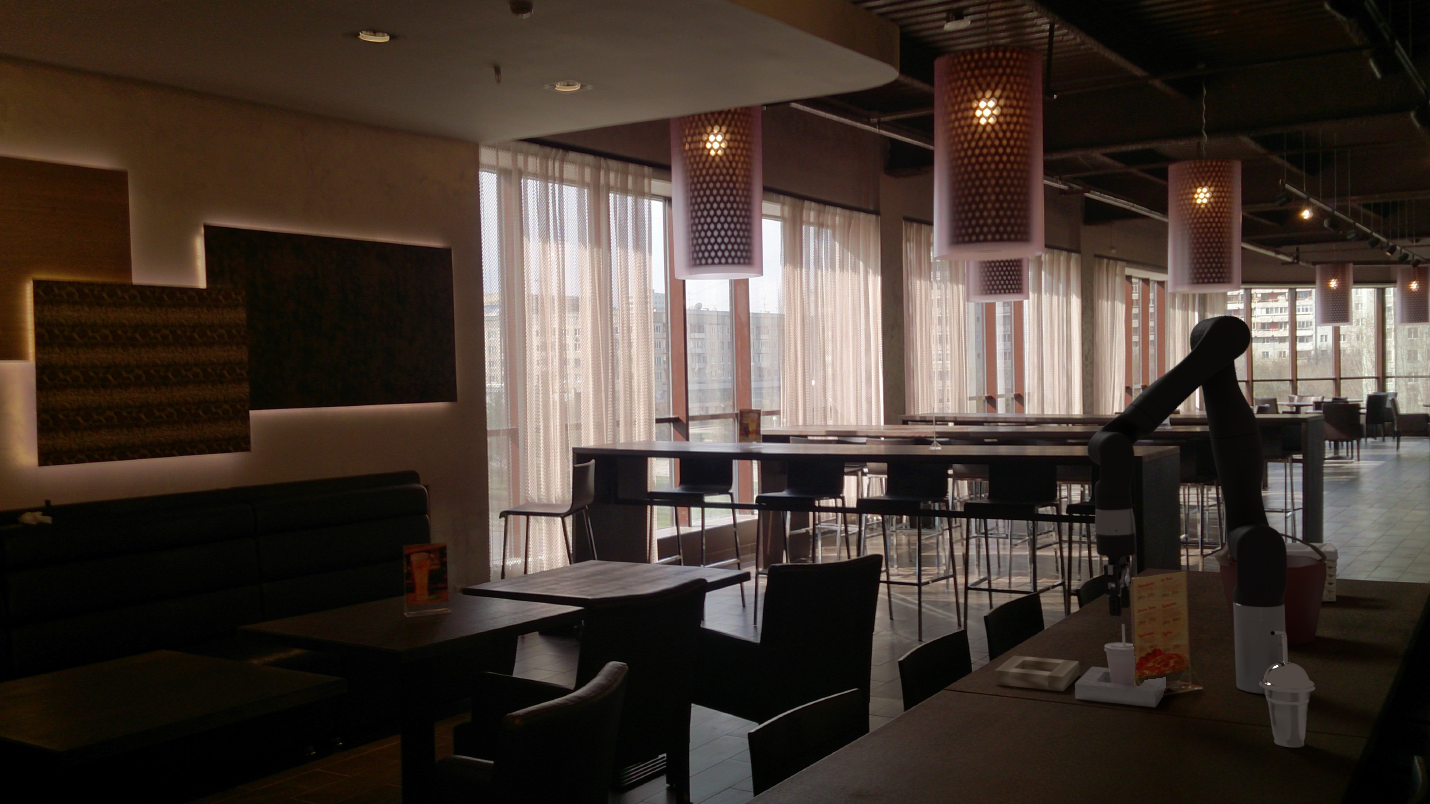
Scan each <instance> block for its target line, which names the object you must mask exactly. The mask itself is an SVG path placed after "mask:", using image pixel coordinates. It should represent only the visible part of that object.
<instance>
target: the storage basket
mask: <svg viewBox="0 0 1430 804" xmlns="http://www.w3.org/2000/svg"><path fill="white" fill-rule="evenodd" d="M1309 543H1310V544H1312V545H1315V546H1316V547H1317V548H1319V549H1320V550H1321V551H1322V552H1323V553H1324V554H1325V555H1326V556H1327V559H1326V561H1325V563H1326V573H1327V576H1326V582H1325V587H1324V592H1323V598H1322V602H1336V601H1337V597H1336V596H1337V572H1338V569H1337V566H1338V562H1337V561H1338V560H1339V552H1338V549H1337V547H1336V546H1335V545H1333V544H1332V543H1331V542H1325V543H1324V542H1323V543H1318V542H1309ZM1285 545H1286V551H1287V555H1296V556H1309V557H1312V558H1315V559H1318V558H1320V556H1319V555H1318V554H1317V553H1316V552H1315V551H1314V550H1313V549H1312V548H1311V547H1309V546H1307V545H1305V544H1302V543H1300V542H1285Z"/></svg>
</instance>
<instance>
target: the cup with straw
mask: <svg viewBox="0 0 1430 804" xmlns="http://www.w3.org/2000/svg"><path fill="white" fill-rule="evenodd" d="M1271 635H1282V641H1283V662H1277V663H1275V664H1273V665H1271V666H1270V667H1269V668H1268V669H1267V671H1266V673H1265V675H1264V677H1262V678H1261V679H1260V683H1259V685H1260V686H1261V687H1263V688H1264V689H1265V694H1264V696H1265V698H1266V701H1267V704H1268V710H1269V711H1268V712H1269V717H1270V724H1271V730H1272V735H1273V739H1274V740H1273V742H1274V744H1276V745H1278V746H1281V747H1286V748H1302V747H1304V746H1305V743H1304V741H1305V738H1306V730H1307V729H1306V728H1307V717H1308V705H1309V703H1310V698H1311V692H1314V690H1316V686H1315V683H1314V682H1313V681H1312V680H1310V677H1309V676H1308V674H1307V672H1306V670H1305V669H1304V668H1303V667H1302V666H1300V665H1299V664H1297V663H1294V662H1291V661H1288V660H1289V658H1288V657H1289V655H1288V653H1289V652H1288V645H1287V635H1286V633H1285V632H1284V631H1271Z"/></svg>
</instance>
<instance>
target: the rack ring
mask: <svg viewBox="0 0 1430 804" xmlns="http://www.w3.org/2000/svg"><path fill="white" fill-rule="evenodd" d="M1165 688H1166V677H1163V678H1156V679H1148V680H1144V682H1143V683H1142V684H1141V685H1140V686H1137V685H1127V684H1116V683H1111V677H1110V671H1109V667H1104V666H1103V667H1102V666H1101V667H1100V666H1091V667H1090V668H1089V669H1088V670H1087V671H1086V672H1085V673H1084V674H1083V675H1081V677H1080V678H1079V679H1078V680H1077V681H1076V682H1075V683H1074V689H1075V690H1074V696H1075V698H1074V699H1075V700H1083V701H1092V702H1101V703H1109V704H1110V703H1111V704H1119V705H1120V704H1121V705H1131V706H1140V707H1141V706H1142V707H1149V708H1156V707H1157V706H1158V704H1159V703H1160V701H1161V700H1162V698H1163V697H1164V696H1163V694H1164V691H1165ZM1164 695H1165V694H1164Z"/></svg>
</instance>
